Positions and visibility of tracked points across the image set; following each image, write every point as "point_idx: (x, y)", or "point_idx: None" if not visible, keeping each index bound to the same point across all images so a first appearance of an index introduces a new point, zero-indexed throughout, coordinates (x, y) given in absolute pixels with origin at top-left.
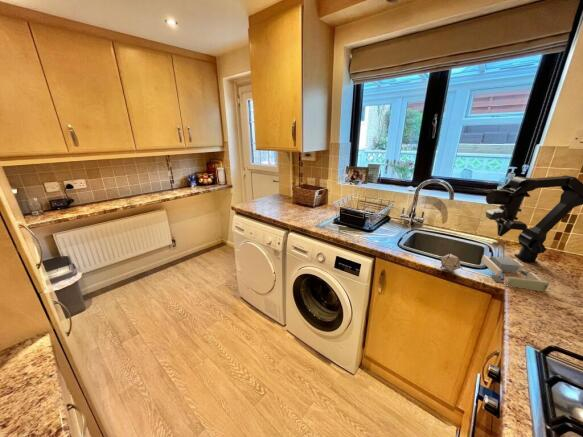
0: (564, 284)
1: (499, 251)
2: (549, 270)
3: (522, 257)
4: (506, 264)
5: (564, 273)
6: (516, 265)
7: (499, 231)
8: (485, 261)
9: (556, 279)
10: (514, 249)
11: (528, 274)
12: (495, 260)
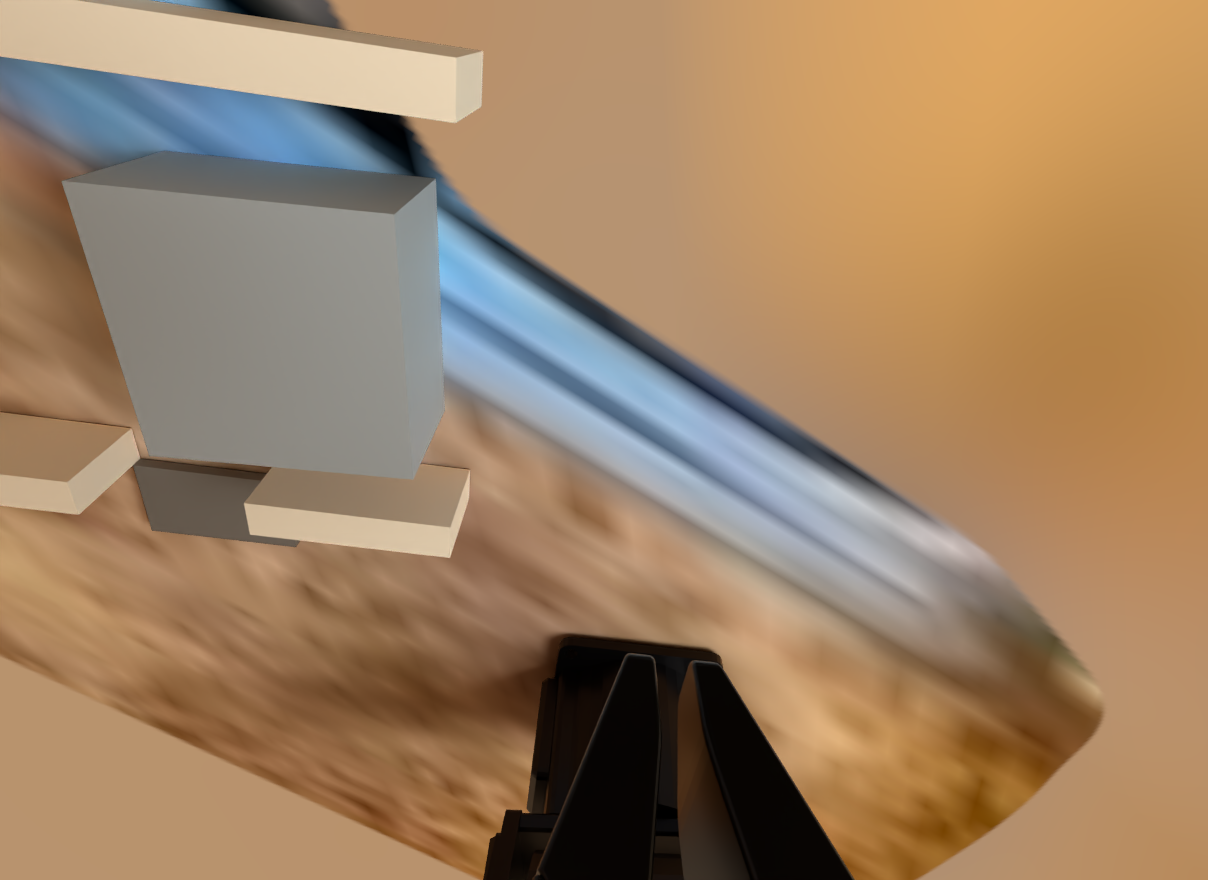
0: (170, 681)
1: (825, 562)
2: (425, 734)
3: (608, 679)
4: (90, 269)
5: (403, 793)
6: (139, 419)
7: (712, 797)
8: (332, 32)
9: (248, 681)
10: (863, 734)
11: (74, 460)
12: (272, 192)
